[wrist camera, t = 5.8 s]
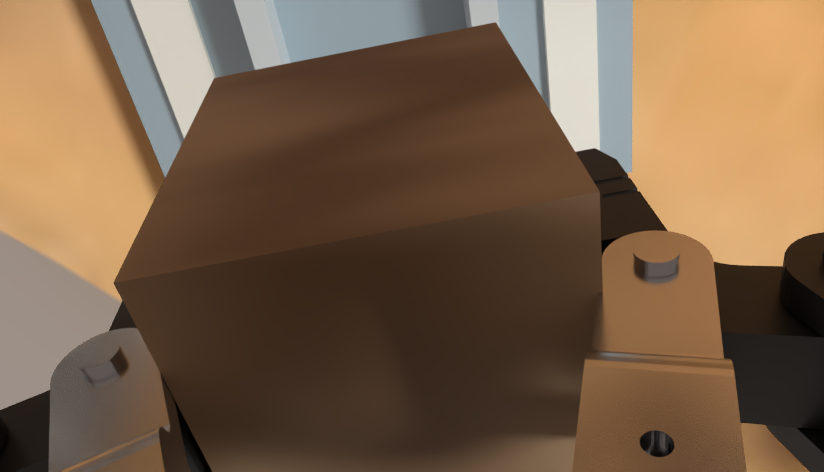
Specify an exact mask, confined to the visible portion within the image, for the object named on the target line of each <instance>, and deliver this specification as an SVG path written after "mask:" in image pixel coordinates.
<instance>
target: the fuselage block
mask: <svg viewBox="0 0 824 472" xmlns="http://www.w3.org/2000/svg"><path fill="white" fill-rule="evenodd" d="M114 285H115V287H116V289H117V291H118V292H119V294H120V296H121V298H122V300H123V302H124V304H125V306H126V308H127V310H128V312H129V313H130V315H131V317H132V319H133V321H134V323H135V325H136V327H137V329H138V331H139V333H140V334H141V336H142V338H143V340H144V342H145V344H146V346H147V348H148V350H149V352H150V354H151V355H152V357H153V359H154V361H155V363H156V365H157V367H158V369H159V371H160V373H161V375H162V376H163V378H164V380H165V382H166V384H167V386H168V388H169V390H170V392H171V394H172V396H173V398H174V399H175V401H176V403H177V405H178V407H179V409H180V411H181V413H182V415H183V417H184V419H185V420H186V422H187V424H188V426H189V428H190V430H191V432H192V434H193V436H194V438H195V440H196V441H197V443H198V445H199V447H200V449H201V451H202V453H203V455H204V457H205V459H206V461H207V462H208V464H209V466H210V468H211V470H212V472H572V468H573V459H574V450H575V441H576V432H577V424H578V415H579V406H580V397H581V389H582V380H583V371H584V363H585V356H586V352H587V350H592V345H593V336H594V326H595V316H596V307H597V297H598V293H599V292H603V282H602V249H601V216H600V191H599V190H598V188H597V186H596V185H595V183H594V181H593V180H592V178H591V177H590V175H589V173H588V172H587V170H586V168H585V167H584V165H583V163H582V162H581V160H580V159H579V157H578V155H577V154H576V152H575V150H574V149H573V147H572V146H571V144H570V142H569V141H568V139H567V137H566V136H565V134H564V132H563V131H562V129H561V128H560V126H559V124H558V123H557V121H556V119H555V118H554V116H553V115H552V113H551V111H550V110H549V108H548V106H547V105H546V103H545V101H544V100H543V98H542V97H541V95H540V93H539V92H538V90H537V88H536V87H535V85H534V84H533V82H532V80H531V79H530V77H529V75H528V74H527V72H526V70H525V69H524V67H523V66H522V64H521V62H520V61H519V59H518V57H517V56H516V54H515V53H514V51H513V49H512V48H511V46H510V44H509V43H508V41H507V39H506V38H505V36H504V35H503V33H502V31H501V30H500V28H499V26H498V25H497V23H496V22H494V23H489V24H484V25H479V26H474V27H469V28H464V29H459V30H454V31H449V32H444V33H439V34H434V35H429V36H424V37H419V38H414V39H409V40H404V41H398V42H393V43H388V44H383V45H378V46H373V47H368V48H363V49H358V50H353V51H348V52H343V53H338V54H333V55H328V56H323V57H318V58H313V59H308V60H303V61H298V62H292V63H287V64H282V65H277V66H272V67H267V68H262V69H257V70H252V71H247V72H242V73H237V74H232V75H227V76H222V77H217V78H214V79H213V81H212V83H211V85H210V87H209V90H208V92H207V94H206V96H205V98H204V100H203V102H202V104H201V106H200V108H199V110H198V112H197V114H196V116H195V118H194V120H193V122H192V124H191V126H190V128H189V130H188V132H187V134H186V136H185V138H184V140H183V142H182V145H181V147H180V149H179V151H178V153H177V155H176V157H175V159H174V161H173V163H172V165H171V167H170V169H169V171H168V173H167V175H166V177H165V179H164V181H163V183H162V185H161V187H160V189H159V191H158V193H157V195H156V197H155V200H154V202H153V204H152V206H151V208H150V210H149V212H148V214H147V216H146V218H145V220H144V222H143V224H142V226H141V228H140V230H139V232H138V234H137V236H136V238H135V240H134V242H133V244H132V246H131V248H130V250H129V252H128V255H127V257H126V259H125V261H124V263H123V265H122V267H121V269H120V271H119V273H118V275H117V277H116V279H115V281H114Z"/></svg>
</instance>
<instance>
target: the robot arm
mask: <svg viewBox="0 0 824 472" xmlns="http://www.w3.org/2000/svg"><path fill="white" fill-rule="evenodd" d="M576 154H577V155H578V157H579V159H580V160H581V162H582V163H583V165H584V167H585V168H586V170H587V172H588V173H589V175H590V177H591V178H592V180H593V181H594V183H595V185H596V186H597V188H598V190H599V191H600V216H601V249H602V282H603V292H599V293H598V297H597V307H596V316H595V326H594V336H593V345H592V350H587V352H586V356H585V363H584V371H583V380H582V389H581V397H580V406H579V415H578V424H577V432H576V441H575V450H574V459H573V468H572V472H746V464H745V456H744V448H743V439H742V431H741V423H751V424H763V425H766V426H767V428H768V429H769V431H770V432H771V433H772V434H773V435H774V436H775V437H776V438H777V439H778V440H779V441H780V442H781V443H782V444H783V445H784V446H785V447H786V448H787V449H788V450H789V451H790V452H791V453H792V454H793V455H794V456H795V457H796V458H797V459H798V460H799V461H800V462H801V463H802V464H803V465H804V466H805V467H806V468H807V469H808V470H809V471H810V472H824V233H817V234H812V235H809V236H805V237H803V238H801V239H798V240H797V241H795V242H794V243H792V244H791V245H790V246H789V247H788V248H787V250H786V252H785V256H784V262H783V267H780V266H740V265H728V264H721V263H717V262H714V261H713V258H712V255H711V253H710V252H709V250H708V249H707V248H706V247H705V246H704V245H703V244H701V243H700V242H698V241H697V240H695V239H693V238H691V237H688V236H686V235H683V234H679V233H675V232H669V231H667V229H666V228H665V226H664V225H663V224H662V222H661V221H660V219H659V218H658V217H657V215H656V214H655V212H654V211H653V210H652V208H651V207H650V205H649V204H648V203H647V201H646V200H645V198H644V197H643V196H642V194H641V193H640V191H639V192H638V191H637V187H636V186H635V184H634V183H633V182H632V180H631V179H630V178H629V179H628V175H627V173H626V172H625V170H624V169H623V168H622V166H621V165H620V163H619V162H618V161H617V159H615V158H613V157H611V156H609V155H607V154H605V153H603V152H601V151H599V150H597V149H595V148H593V149H587V150H582V151H577V152H576ZM0 472H212V470H211V468H210V466H209V464H208V462H207V461H206V459H205V457H204V455H203V453H202V451H201V449H200V447H199V445H198V443H197V441H196V440H195V438H194V436H193V434H192V432H191V430H190V428H189V426H188V424H187V422H186V420H185V419H184V417H183V415H182V413H181V411H180V409H179V407H178V405H177V403H176V401H175V399H174V398H173V396H172V394H171V392H170V390H169V388H168V386H167V384H166V382H165V380H164V378H163V376H162V375H161V373H160V371H159V369H158V367H157V365H156V363H155V361H154V359H153V357H152V355H151V354H150V352H149V350H148V348H147V346H146V344H145V342H144V340H143V338H142V336H141V334H140V333H139V331H138V329H137V327H136V325H135V323H134V321H133V319H132V317H131V315H130V313H129V312H128V310H127V308H126V306H125V304H124V302H123V301H122V303H121V306H120V308H119V310H118V312H117V314H116V316H115V319H114V321H113V323H112V325H111V327H110V330H109V331H108V332H105V333H102V334H100V335H98V336H95V337H93V338H91V339H90V340H87V341H86V342H84V343H82V344H81V345H79V346H78V347H77V348H75V349H74V350H72V351H71V352H70V353H69V354H68V355H67V356H66V357H65V358H64V359H63V360H62V361H61V362H60V363H59V365H58V366H57V367H56V369H55V371H54V373H53V375H52V378H51V383H50V390H49V391H46V392H44V393H42V394H39V395H37V396H34V397H32V398H29V399H27V400H24V401H22V402H19V403H17V404H15V405H12V406H9V407H7V408H5V409H2V410H0Z"/></svg>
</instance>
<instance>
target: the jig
mask: <svg viewBox="0 0 824 472" xmlns="http://www.w3.org/2000/svg"><path fill="white" fill-rule="evenodd" d="M91 2H92V4H93V7H94V9H95V11H96V14H97V16H98V19H99V21H100V23H101V26H102V28H103V31H104V33H105V35H106V38H107V40H108V42H109V45H110V47H111V50H112V52H113V54H114V57H115V59H116V62H117V64H118V66H119V69H120V71H121V74H122V76H123V78H124V81H125V83H126V85H127V88H128V90H129V93H130V95H131V97H132V100H133V102H134V105H135V107H136V109H137V112H138V114H139V117H140V119H141V121H142V124H143V126H144V128H145V131H146V133H147V136H148V138H149V140H150V143H151V145H152V148H153V150H154V152H155V155H156V157H157V160H158V162H159V164H160V167H161V169H162V171H163V174H164V176H165V177H166V175H167V173H168V171H169V169H170V167H171V165H172V163H173V161H174V159H175V157H176V155H177V153H178V151H179V149H180V147H181V145H182V142H183V140H184V138H185V136H186V134H187V132H188V130H189V128H190V126H191V124H192V122H193V120H194V118H195V116H196V114H197V112H198V110H199V108H200V106H201V104H202V102H203V100H204V98H205V96H206V94H207V92H208V90H209V87H210V85H211V83H212V81H213V79H214V78H217V77H222V76H227V75H232V74H237V73H242V72H247V71H252V70H257V69H262V68H267V67H272V66H277V65H282V64H287V63H292V62H298V61H303V60H308V59H313V58H318V57H323V56H328V55H333V54H338V53H343V52H348V51H353V50H358V49H363V48H368V47H373V46H378V45H383V44H388V43H393V42H398V41H404V40H409V39H414V38H419V37H424V36H429V35H434V34H439V33H444V32H449V31H454V30H459V29H464V28H469V27H474V26H479V25H484V24H489V23H494V22H496V23H497V25H498V26H499V28H500V30H501V31H502V33H503V35H504V36H505V38H506V39H507V41H508V43H509V44H510V46H511V48H512V49H513V51H514V53H515V54H516V56H517V57H518V59H519V61H520V62H521V64H522V66H523V67H524V69H525V70H526V72H527V74H528V75H529V77H530V79H531V80H532V82H533V84H534V85H535V87H536V88H537V90H538V92H539V93H540V95H541V97H542V98H543V100H544V101H545V103H546V105H547V106H548V108H549V110H550V111H551V113H552V115H553V116H554V118H555V119H556V121H557V123H558V124H559V126H560V128H561V129H562V131H563V132H564V134H565V136H566V137H567V139H568V141H569V142H570V144H571V146H572V147H573V149H574V150H575V152H577V151H582V150H587V149H593V148H595V149H597V150H599V151H601V152H603V153H605V154H607V155H609V156H611V157H613V158H615V159H617V161H618V162H619V163H620V165H621V166H622V168H623V169H624V170H625V172H626V173H628V172H632V43H633V0H91Z"/></svg>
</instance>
